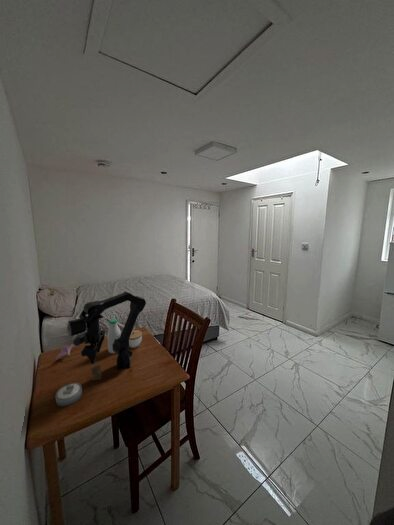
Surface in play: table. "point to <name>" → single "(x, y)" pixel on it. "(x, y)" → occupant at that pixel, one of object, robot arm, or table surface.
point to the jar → (68, 394)
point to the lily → (65, 351)
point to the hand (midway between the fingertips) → (95, 357)
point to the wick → (96, 372)
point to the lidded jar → (135, 338)
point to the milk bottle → (112, 334)
